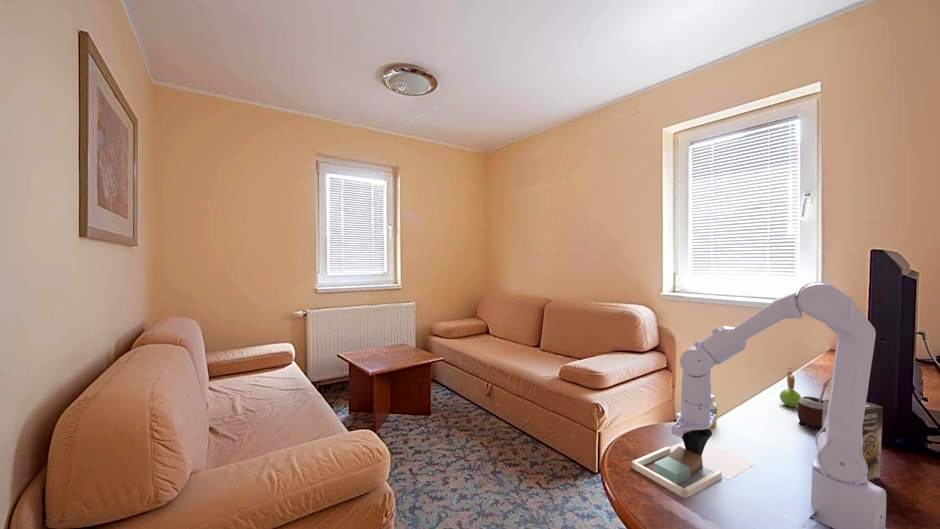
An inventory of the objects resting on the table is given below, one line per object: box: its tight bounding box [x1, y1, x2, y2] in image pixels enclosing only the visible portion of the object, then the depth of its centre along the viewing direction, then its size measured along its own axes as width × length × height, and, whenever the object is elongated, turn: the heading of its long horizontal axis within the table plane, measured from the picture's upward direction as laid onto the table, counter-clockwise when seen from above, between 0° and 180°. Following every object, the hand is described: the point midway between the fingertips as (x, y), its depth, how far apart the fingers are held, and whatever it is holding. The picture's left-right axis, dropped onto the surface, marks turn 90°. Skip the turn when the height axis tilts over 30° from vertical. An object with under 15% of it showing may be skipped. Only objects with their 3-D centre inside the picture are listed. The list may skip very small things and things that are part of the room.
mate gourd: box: [797, 375, 832, 432], centre depth 106 cm, size 8×8×15 cm
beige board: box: [669, 441, 756, 480], centre depth 87 cm, size 14×12×2 cm
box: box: [630, 446, 723, 500], centre depth 80 cm, size 12×14×3 cm
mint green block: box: [653, 455, 691, 485], centre depth 80 cm, size 5×5×3 cm
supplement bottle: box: [710, 393, 718, 428], centre depth 105 cm, size 5×5×10 cm
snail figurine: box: [779, 366, 802, 408], centre depth 122 cm, size 5×6×12 cm
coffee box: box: [822, 399, 884, 481], centre depth 84 cm, size 9×6×16 cm
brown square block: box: [667, 446, 704, 477], centre depth 82 cm, size 5×5×3 cm
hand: (693, 459), depth 84 cm, fingers closed
